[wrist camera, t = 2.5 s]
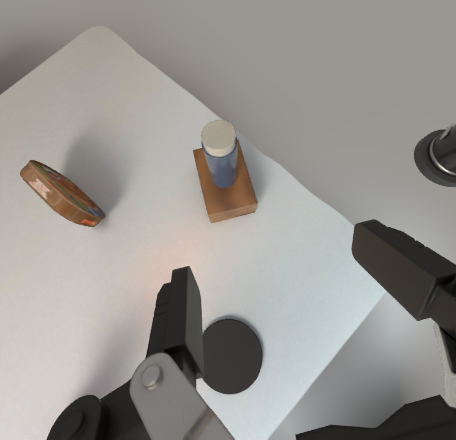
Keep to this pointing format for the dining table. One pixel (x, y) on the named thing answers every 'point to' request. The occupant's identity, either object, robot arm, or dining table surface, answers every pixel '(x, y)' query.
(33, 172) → the tin
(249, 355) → the mat
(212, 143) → the cylinder
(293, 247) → the dining table surface
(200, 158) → the shelf
